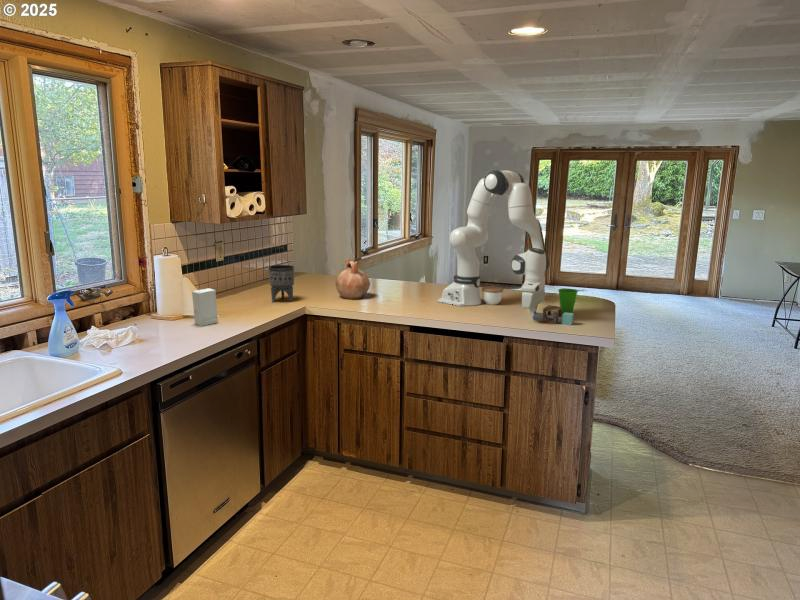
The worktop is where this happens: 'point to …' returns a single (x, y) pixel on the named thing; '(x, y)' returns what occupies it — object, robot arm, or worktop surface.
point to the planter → (281, 280)
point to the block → (568, 318)
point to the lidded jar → (492, 295)
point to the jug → (352, 281)
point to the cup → (567, 299)
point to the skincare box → (205, 306)
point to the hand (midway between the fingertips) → (533, 314)
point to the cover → (549, 309)
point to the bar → (548, 316)
